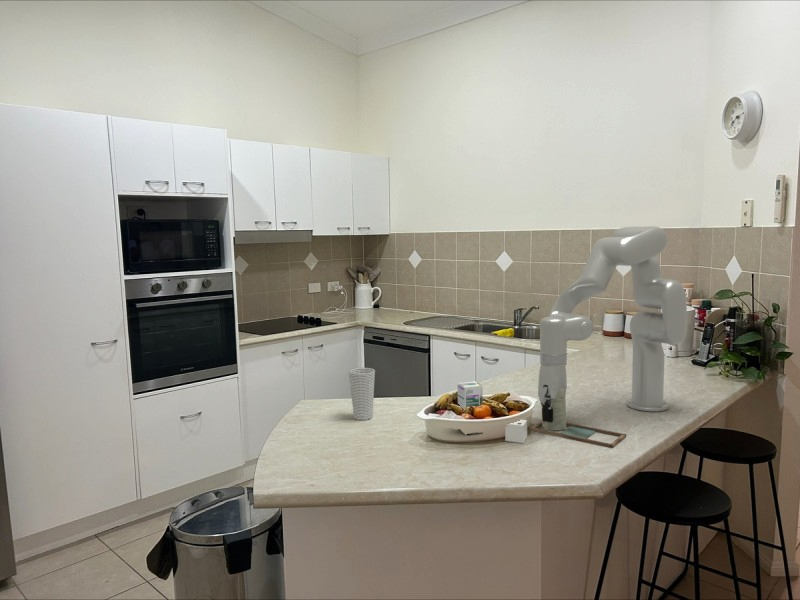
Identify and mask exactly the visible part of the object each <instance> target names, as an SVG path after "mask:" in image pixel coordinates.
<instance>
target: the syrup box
mask: <svg viewBox="0 0 800 600" xmlns="http://www.w3.org/2000/svg"><path fill="white" fill-rule="evenodd" d="M456 386H457V405H458V404H459V405H460V406H461V407H462V408H463V409H465V408H467V407H470V406H479V405H481V404H483V405H484V403H483V402H484V401H483V395H484V394H483V392H484V391H483V385H482V384H481V383H480V382H478V381H475V380H474V381H467V382H457V385H456Z"/></svg>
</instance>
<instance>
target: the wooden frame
mask: <svg viewBox="0 0 800 600" xmlns="http://www.w3.org/2000/svg"><path fill="white" fill-rule="evenodd" d="M540 427H543V426H542V421H540V422H538V423H537V424H535V425H533V426H532V427H530V432H535V433H541V434H545V435H549V436H555V437H559V438H563V439H567V440H568V439H569V440H573V441H577V442H582V443H587V444H592V445H596V446H601V447H605V448H610V449H613V448H614V447H617V445H618V444H620V443H621V442H622V441H623V440H624V439H626V438H627V434H626V433H621V432H616V431H611V430H606V429H601V428H596V427H592V426H586V425H581V424H576V423H571V422H566V429H564V430H563V431H561V432H556V431H553V430H548V431H547V430H545V429H544V428H543V429H542V428H540ZM596 433H599V434H603V435H604V434H605V435H609V436H615V437H617V438H616V439H615V440H614V441H613V442H610V443H608V442H604V441H600V440H594V439H589V437H591V436H593V435H594V434H596Z"/></svg>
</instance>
